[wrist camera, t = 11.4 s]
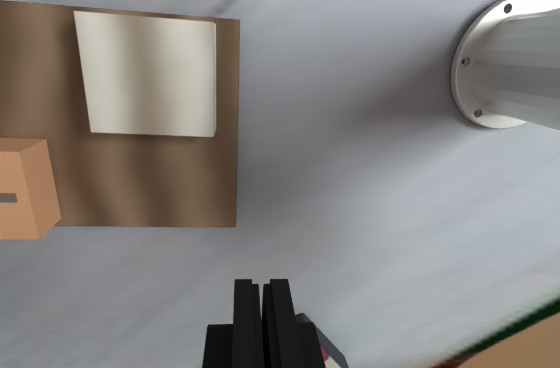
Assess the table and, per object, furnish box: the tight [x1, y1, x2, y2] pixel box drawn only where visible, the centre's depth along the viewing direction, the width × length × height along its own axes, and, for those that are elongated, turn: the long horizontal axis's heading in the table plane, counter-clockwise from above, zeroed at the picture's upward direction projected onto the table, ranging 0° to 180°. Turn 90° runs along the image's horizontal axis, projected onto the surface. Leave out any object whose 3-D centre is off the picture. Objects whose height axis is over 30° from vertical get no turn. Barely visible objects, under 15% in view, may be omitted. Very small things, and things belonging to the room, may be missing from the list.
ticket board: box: [0, 0, 240, 227], centre depth 30 cm, size 28×20×4 cm
